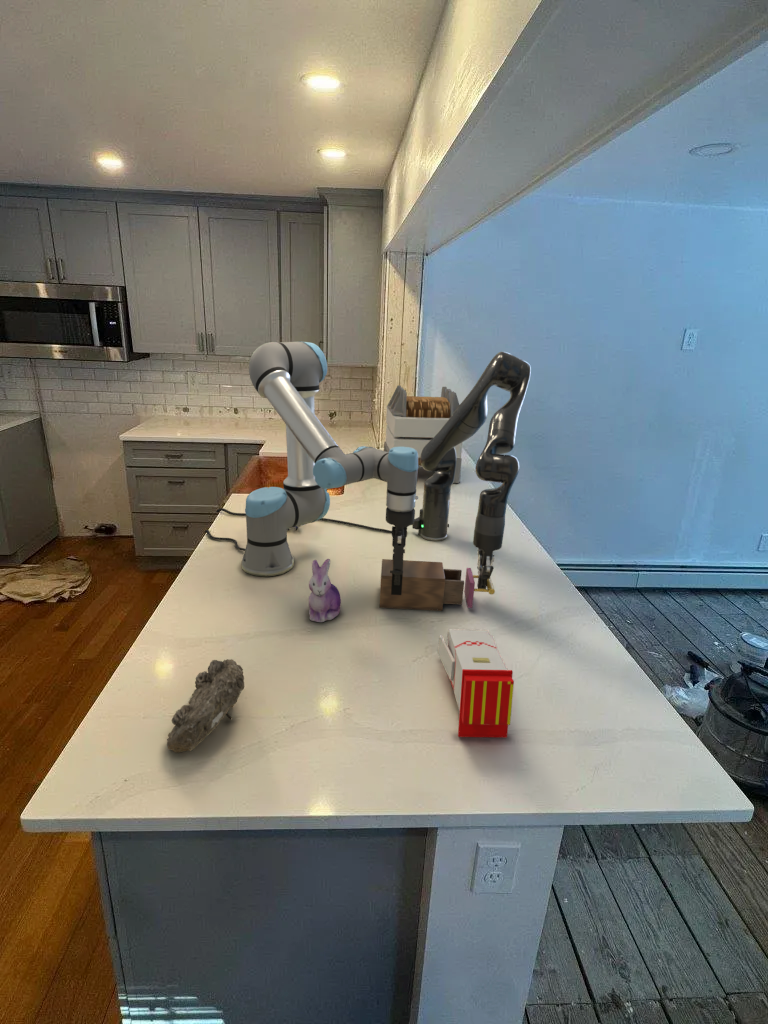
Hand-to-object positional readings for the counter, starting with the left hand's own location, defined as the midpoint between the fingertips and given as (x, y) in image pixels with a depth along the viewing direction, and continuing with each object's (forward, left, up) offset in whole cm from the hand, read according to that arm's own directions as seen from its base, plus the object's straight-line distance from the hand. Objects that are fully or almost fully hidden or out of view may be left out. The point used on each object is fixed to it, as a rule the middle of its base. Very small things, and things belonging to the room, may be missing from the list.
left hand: (396, 584), depth 154 cm
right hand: (+21, +8, 0) cm, 23 cm away
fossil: (-14, -59, -4) cm, 61 cm away
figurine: (-13, -16, -4) cm, 21 cm away
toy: (+29, -30, -4) cm, 42 cm away
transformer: (-37, +123, -4) cm, 128 cm away
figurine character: (-53, +34, -4) cm, 62 cm away
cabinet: (+4, +1, -4) cm, 6 cm away
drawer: (+14, +6, -3) cm, 16 cm away
